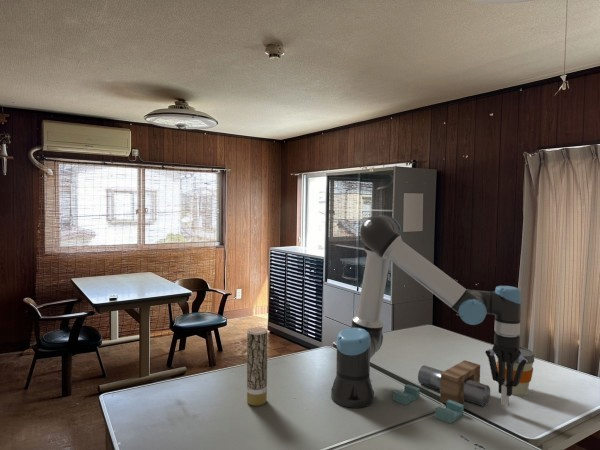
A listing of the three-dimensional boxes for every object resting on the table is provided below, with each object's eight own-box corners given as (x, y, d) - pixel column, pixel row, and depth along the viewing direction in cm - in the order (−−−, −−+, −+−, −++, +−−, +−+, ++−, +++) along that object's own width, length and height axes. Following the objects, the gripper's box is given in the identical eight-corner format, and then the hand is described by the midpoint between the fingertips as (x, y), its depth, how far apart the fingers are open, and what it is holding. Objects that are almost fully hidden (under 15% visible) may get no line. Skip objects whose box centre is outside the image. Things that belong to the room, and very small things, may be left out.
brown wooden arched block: (456, 407, 137) (457, 378, 137) (440, 401, 142) (440, 373, 141) (479, 391, 150) (480, 364, 149) (463, 386, 154) (464, 360, 154)
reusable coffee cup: (487, 385, 155) (488, 346, 154) (512, 380, 159) (513, 343, 159) (515, 400, 143) (516, 358, 143) (541, 394, 148) (542, 354, 147)
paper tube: (248, 407, 135) (248, 333, 134) (245, 398, 142) (246, 327, 141) (268, 405, 137) (269, 332, 136) (264, 396, 144) (265, 326, 143)
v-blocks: (450, 423, 127) (450, 414, 127) (393, 399, 142) (393, 391, 142) (463, 414, 133) (463, 405, 133) (407, 392, 148) (407, 384, 148)
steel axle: (490, 402, 141) (490, 383, 141) (481, 409, 137) (482, 389, 136) (427, 380, 159) (427, 363, 159) (417, 386, 154) (418, 367, 154)
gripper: (532, 336, 131) (530, 407, 132) (491, 327, 141) (489, 393, 142) (524, 341, 126) (522, 415, 127) (482, 331, 136) (480, 400, 137)
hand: (504, 404), depth 134 cm, fingers closed
